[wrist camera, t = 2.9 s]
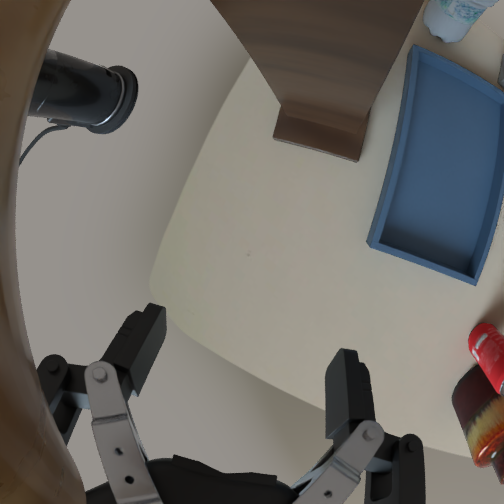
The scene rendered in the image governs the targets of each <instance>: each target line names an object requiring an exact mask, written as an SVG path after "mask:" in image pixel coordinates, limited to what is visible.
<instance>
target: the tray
mask: <svg viewBox="0 0 504 504" xmlns="http://www.w3.org/2000/svg"><path fill="white" fill-rule="evenodd" d="M503 196H504V92H503V91H501V90H500V89H498V88H497V87H495V86H494V85H492V84H491V83H489V82H487V81H486V80H484V79H483V78H481V77H479V76H478V75H476V74H474V73H472V72H471V71H469V70H467V69H465V68H463V67H462V66H460V65H458V64H456V63H454V62H452V61H450V60H448V59H446V58H444V57H442V56H440V55H438V54H435V53H433V52H431V51H429V50H426V49H424V48H422V47H419V46H417V45H414V44H413V46H412V48H411V49H410V51H409V53H408V57H407V65H406V74H405V81H404V88H403V94H402V101H401V106H400V112H399V118H398V123H397V128H396V133H395V138H394V142H393V147H392V151H391V155H390V160H389V164H388V168H387V172H386V176H385V180H384V183H383V187H382V191H381V194H380V198H379V202H378V205H377V208H376V212H375V215H374V218H373V222H372V225H371V228H370V231H369V234H368V237H367V240H366V242H367V244H368V245H369V247H370V248H373V249H376V250H379V251H382V252H385V253H388V254H391V255H394V256H396V257H399V258H402V259H405V260H408V261H411V262H413V263H416V264H419V265H422V266H424V267H427V268H430V269H432V270H435V271H438V272H440V273H443V274H446V275H448V276H451V277H453V278H456V279H459V280H461V281H464V282H466V283H469V284H471V285H474V286H476V284H477V282H478V280H479V277H480V274H481V272H482V269H483V266H484V264H485V261H486V258H487V255H488V252H489V249H490V246H491V243H492V239H493V236H494V233H495V229H496V226H497V222H498V218H499V214H500V210H501V206H502V201H503Z"/></svg>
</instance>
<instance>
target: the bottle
mask: <svg viewBox="0 0 504 504" xmlns="http://www.w3.org/2000/svg"><path fill="white" fill-rule="evenodd" d="M498 1H499V0H430V1H429V3H428V4H427V6H426V8H425V10H424V14H423V22H424V25H425V26H427V27H429V29H430V33H431V35H433V36H439V37H440V38H441V39H442V41H443V42H445V43H450V42H459V41H460V40H462V39H463V38H464V36H465V35H466V34H467V32H468V31H469V29H470V28H471V26H472V25H473V24H474V23H475V21H476V20H477V19H478V18H479V17H480V15H481V14H482V13H483V12H484V11H485V10H486V9H487V7H492V6H493V5H494V4H495V3H496V2H498Z"/></svg>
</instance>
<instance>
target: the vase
mask: <svg viewBox="0 0 504 504" xmlns="http://www.w3.org/2000/svg"><path fill="white" fill-rule="evenodd" d="M452 404H453V407H454V409H455V412H456V414H457V417H458V419H459V422H460V424H461V427H462V430H463V432H464V435H465V438H466V441H467V443H468V446H469V449H470V452H471V455H472V458H473V461H474V464H475V465H476V466H477V467H480V468H484V467H489V466H493V468H494V470H495V472H496V474H497V477H498V479H499V482H500V483H501V484H504V397H503V396H501V395H500V394H498V393H497V392H496V390H495V389H494V387H493V385H492V384H491V382H490V381H489V379H488V377H487V376H486V374H485V373H484V371H483V370H482V368H481V367H480V365H477V366H475V367H474V368H472V369H471V370H470V371H469V372H468V373H466V374H465V375H464V377H463V378H462V379H461V380H460V381H459V383H458V384H457V386H456V387H455V389H454V392H453V395H452Z"/></svg>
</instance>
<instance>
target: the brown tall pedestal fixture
mask: <svg viewBox="0 0 504 504" xmlns="http://www.w3.org/2000/svg"><path fill="white" fill-rule="evenodd" d="M210 1H211V2H212V4H213V5H214V6H215V8H216V9H217V10H218V11H219V13H220V14H221V15H222V17H223V18H224V19H225V20H226V22H227V23H228V25H229V26H230V28H231V29H232V30H233V32H234V33H235V34H236V36H237V37H238V39H239V40H240V42H241V43H242V44H243V46H244V47H245V49H246V50H247V52H248V53H249V54H250V56H251V58H252V59H253V61H254V62H255V64H256V65H257V67H258V68H259V70H260V72H261V73H262V75H263V76H264V78H265V79H266V81H267V83H268V84H269V86H270V88H271V89H272V91H273V92H274V94H275V96H276V97H277V99H278V101H279V103H280V104H281V108H280V111H279V115H278V119H277V123H276V127H275V130H274V134H273V139H274V140H277V141H281V142H285V143H289V144H293V145H297V146H301V147H305V148H309V149H312V150H316V151H319V152H323V153H326V154H330V155H333V156H337V157H340V158H343V159H346V160H349V161H353V162H356V163H357V162H358V161H359V157H360V153H361V149H362V145H363V141H364V136H365V132H366V128H367V123H368V118H369V114H370V109H371V105H372V103H373V102H374V100H375V98H376V96H377V94H378V92H379V90H380V88H381V86H382V85H383V83H384V81H385V79H386V77H387V75H388V73H389V71H390V69H391V67H392V65H393V63H394V61H395V59H396V57H397V55H398V53H399V51H400V49H401V47H402V45H403V43H404V41H405V39H406V37H407V35H408V33H409V31H410V29H411V27H412V25H413V23H414V21H415V19H416V17H417V14H418V12H419V10H420V8H421V6H422V4H423V2H424V0H210Z"/></svg>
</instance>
